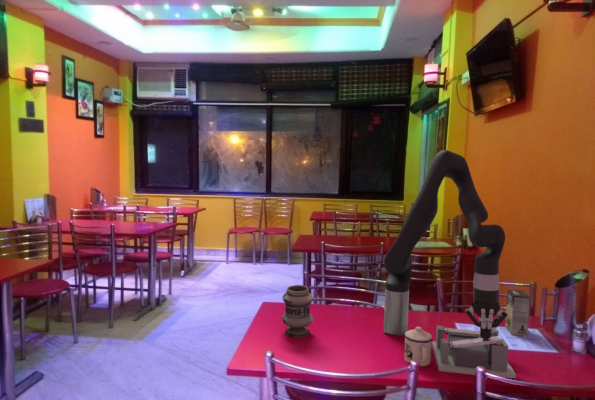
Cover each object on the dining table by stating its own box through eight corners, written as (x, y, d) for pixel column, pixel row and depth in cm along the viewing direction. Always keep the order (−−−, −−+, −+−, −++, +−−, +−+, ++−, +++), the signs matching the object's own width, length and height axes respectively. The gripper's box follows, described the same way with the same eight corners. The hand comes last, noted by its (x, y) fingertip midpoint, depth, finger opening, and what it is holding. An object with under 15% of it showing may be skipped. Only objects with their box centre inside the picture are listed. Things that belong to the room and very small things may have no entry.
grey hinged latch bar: (444, 336, 149) (444, 330, 149) (443, 332, 152) (443, 327, 152) (491, 341, 146) (492, 335, 146) (489, 337, 149) (489, 331, 149)
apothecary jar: (276, 335, 162) (277, 289, 161) (289, 324, 173) (289, 282, 172) (306, 340, 157) (307, 294, 156) (316, 329, 169) (317, 285, 167)
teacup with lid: (400, 354, 147) (401, 322, 146) (426, 354, 148) (427, 322, 147) (410, 371, 135) (412, 336, 135) (438, 371, 136) (440, 336, 135)
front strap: (450, 351, 137) (449, 344, 137) (449, 347, 140) (447, 340, 140) (501, 346, 134) (500, 339, 134) (498, 341, 137) (497, 335, 137)
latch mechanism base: (438, 370, 136) (440, 341, 135) (432, 345, 156) (433, 319, 155) (515, 379, 131) (517, 348, 131) (498, 351, 151) (500, 324, 150)
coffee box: (504, 326, 176) (506, 288, 174) (520, 327, 174) (523, 290, 173) (510, 335, 167) (513, 295, 165) (528, 336, 165) (531, 296, 164)
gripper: (466, 288, 133) (465, 342, 134) (512, 290, 130) (510, 345, 131) (462, 282, 140) (461, 333, 141) (505, 284, 137) (504, 336, 138)
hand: (485, 339), depth 136 cm, fingers closed
